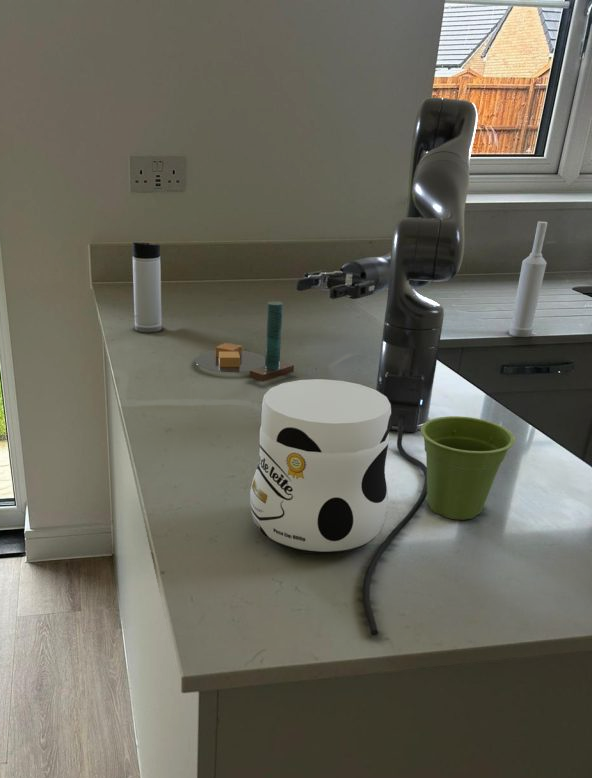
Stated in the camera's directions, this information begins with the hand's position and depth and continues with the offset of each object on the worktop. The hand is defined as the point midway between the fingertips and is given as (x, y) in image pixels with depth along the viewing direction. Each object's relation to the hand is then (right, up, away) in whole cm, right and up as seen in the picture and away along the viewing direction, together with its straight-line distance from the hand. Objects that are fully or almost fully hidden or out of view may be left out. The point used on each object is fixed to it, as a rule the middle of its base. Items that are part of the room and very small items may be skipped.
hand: (314, 289), depth 153 cm
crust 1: (-17, -11, +10) cm, 22 cm away
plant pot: (+13, -43, -45) cm, 64 cm away
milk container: (-7, -46, -51) cm, 69 cm away
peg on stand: (-8, -18, +1) cm, 20 cm away
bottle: (+53, -2, +31) cm, 61 cm away
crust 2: (-17, -14, +6) cm, 22 cm away
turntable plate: (-16, -13, +8) cm, 23 cm away
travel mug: (-35, -1, +32) cm, 47 cm away
